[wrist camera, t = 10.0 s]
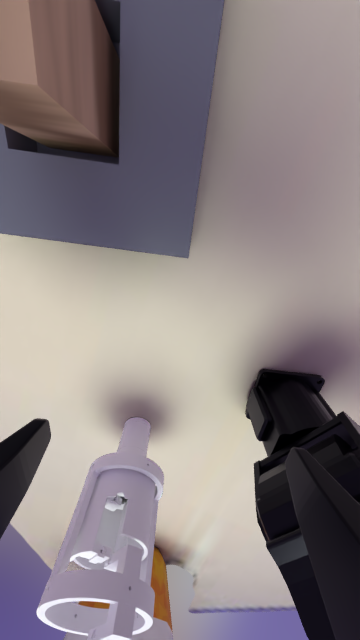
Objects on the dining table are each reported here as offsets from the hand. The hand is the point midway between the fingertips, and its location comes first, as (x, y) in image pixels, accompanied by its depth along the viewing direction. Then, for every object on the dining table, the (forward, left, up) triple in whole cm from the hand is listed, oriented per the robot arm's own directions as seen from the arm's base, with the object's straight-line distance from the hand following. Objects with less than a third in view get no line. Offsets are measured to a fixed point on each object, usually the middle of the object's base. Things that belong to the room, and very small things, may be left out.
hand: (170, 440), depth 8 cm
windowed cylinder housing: (+3, +15, -13) cm, 20 cm away
